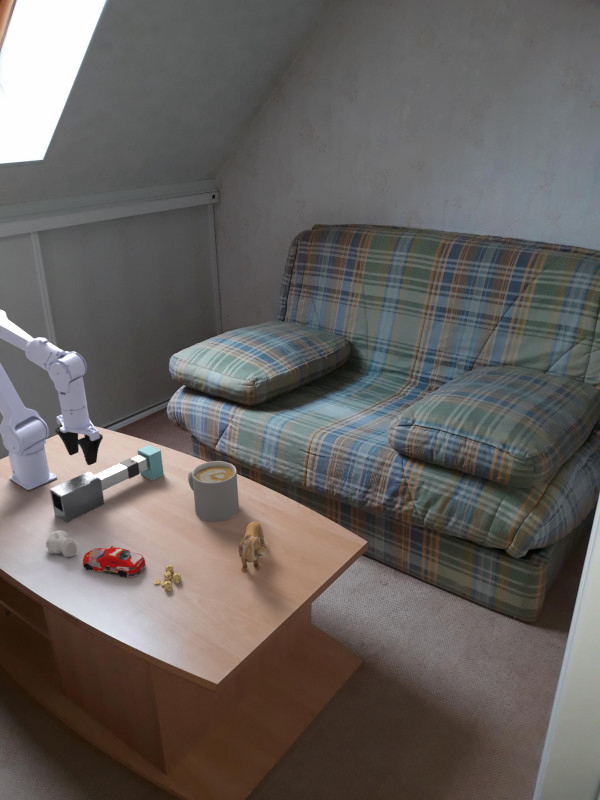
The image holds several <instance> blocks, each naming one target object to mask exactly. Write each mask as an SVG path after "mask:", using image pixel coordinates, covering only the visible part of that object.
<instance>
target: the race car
mask: <svg viewBox="0 0 600 800" xmlns="http://www.w3.org/2000/svg"><path fill="white" fill-rule="evenodd" d="M82 566H83V568H84V569H85V570H86V571H90V570H91V571H90V572H92V571H93V572H98V573H101V574H107V575H113V576H119V577H120V578H125V579H126V578H133V577H136V576H138V575H139V574H140V573H142V571H143V570H144V568H145V567H146V560H145V557H144V555H142V554H141V553H137V552H135V551H132V550H129V549H127V548H122V547H117V546H115V547H114V546H113V545H111V546H110V547H106V548H102V547H101V548H100V547H99V548H97V547H95V548H93V549H91V550H89V551H87V552H85V554H84V555H83V557H82Z"/></svg>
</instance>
